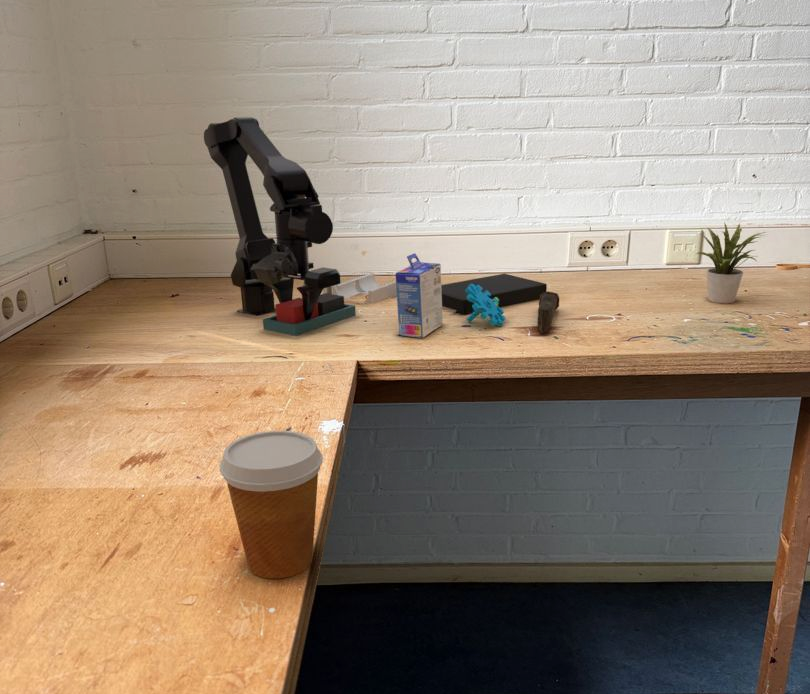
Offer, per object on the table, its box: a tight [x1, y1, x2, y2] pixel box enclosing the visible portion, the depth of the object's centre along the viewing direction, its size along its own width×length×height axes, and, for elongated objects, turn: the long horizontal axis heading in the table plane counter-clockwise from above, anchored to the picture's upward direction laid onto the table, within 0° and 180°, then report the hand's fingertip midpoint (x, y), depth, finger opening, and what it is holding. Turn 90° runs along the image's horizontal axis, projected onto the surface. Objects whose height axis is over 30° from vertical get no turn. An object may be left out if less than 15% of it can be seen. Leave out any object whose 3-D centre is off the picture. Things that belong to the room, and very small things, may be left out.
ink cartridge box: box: [395, 252, 444, 339], centre depth 150 cm, size 10×6×14 cm, turn 155°
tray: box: [262, 303, 357, 337], centre depth 158 cm, size 9×18×2 cm, turn 144°
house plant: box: [695, 221, 766, 304], centre depth 164 cm, size 14×14×16 cm
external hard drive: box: [441, 273, 548, 315], centre depth 174 cm, size 14×23×3 cm, turn 124°
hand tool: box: [537, 290, 560, 334], centre depth 155 cm, size 19×4×5 cm, turn 164°
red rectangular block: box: [275, 297, 318, 324], centre depth 155 cm, size 5×6×4 cm
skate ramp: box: [322, 270, 397, 305], centre depth 180 cm, size 15×13×5 cm
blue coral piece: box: [465, 284, 507, 327], centre depth 156 cm, size 11×6×10 cm
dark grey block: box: [317, 293, 345, 316], centre depth 161 cm, size 5×6×4 cm
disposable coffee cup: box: [219, 430, 324, 579], centre depth 76 cm, size 10×10×12 cm
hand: (297, 317), depth 155 cm, fingers closed on red rectangular block, 5 cm apart
